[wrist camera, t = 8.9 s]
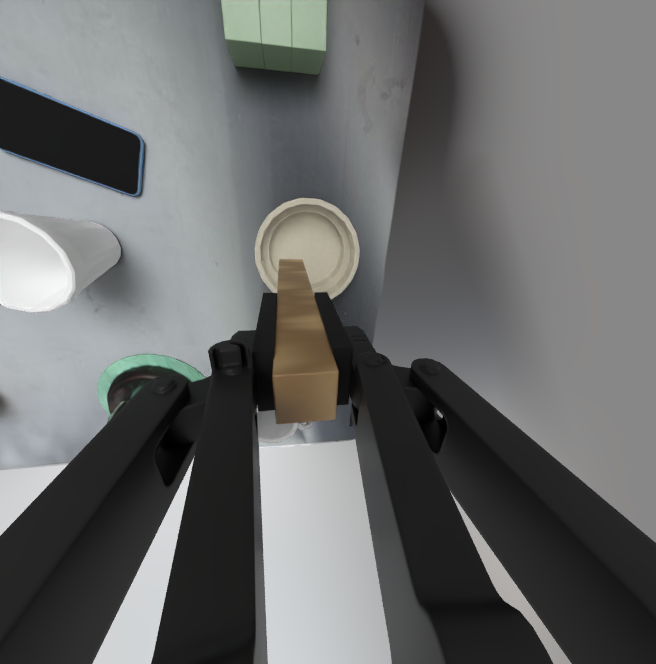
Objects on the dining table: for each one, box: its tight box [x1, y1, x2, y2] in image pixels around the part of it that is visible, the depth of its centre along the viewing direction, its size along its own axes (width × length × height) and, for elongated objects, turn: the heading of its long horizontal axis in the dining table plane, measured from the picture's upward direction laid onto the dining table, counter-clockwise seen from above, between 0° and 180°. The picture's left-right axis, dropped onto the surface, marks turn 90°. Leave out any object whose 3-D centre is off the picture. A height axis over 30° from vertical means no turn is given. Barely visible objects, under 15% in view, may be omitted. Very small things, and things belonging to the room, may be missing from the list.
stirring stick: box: [272, 259, 339, 425], centre depth 17 cm, size 2×2×18 cm
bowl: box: [255, 198, 360, 299], centre depth 39 cm, size 14×14×6 cm
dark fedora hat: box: [97, 354, 205, 423], centre depth 48 cm, size 15×19×20 cm
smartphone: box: [0, 77, 144, 196], centre depth 31 cm, size 7×1×15 cm
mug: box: [257, 405, 312, 443], centre depth 49 cm, size 12×9×10 cm
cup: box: [0, 211, 121, 313], centre depth 31 cm, size 10×10×13 cm
